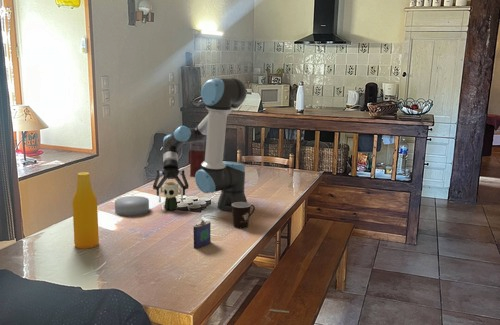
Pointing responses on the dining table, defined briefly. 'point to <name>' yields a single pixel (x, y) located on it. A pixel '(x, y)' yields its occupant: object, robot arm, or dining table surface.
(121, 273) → the dining table surface
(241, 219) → the coffee mug
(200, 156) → the glass decanter
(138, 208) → the plinth
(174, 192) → the character mug
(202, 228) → the flask
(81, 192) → the beer bottle
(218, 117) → the robot arm
